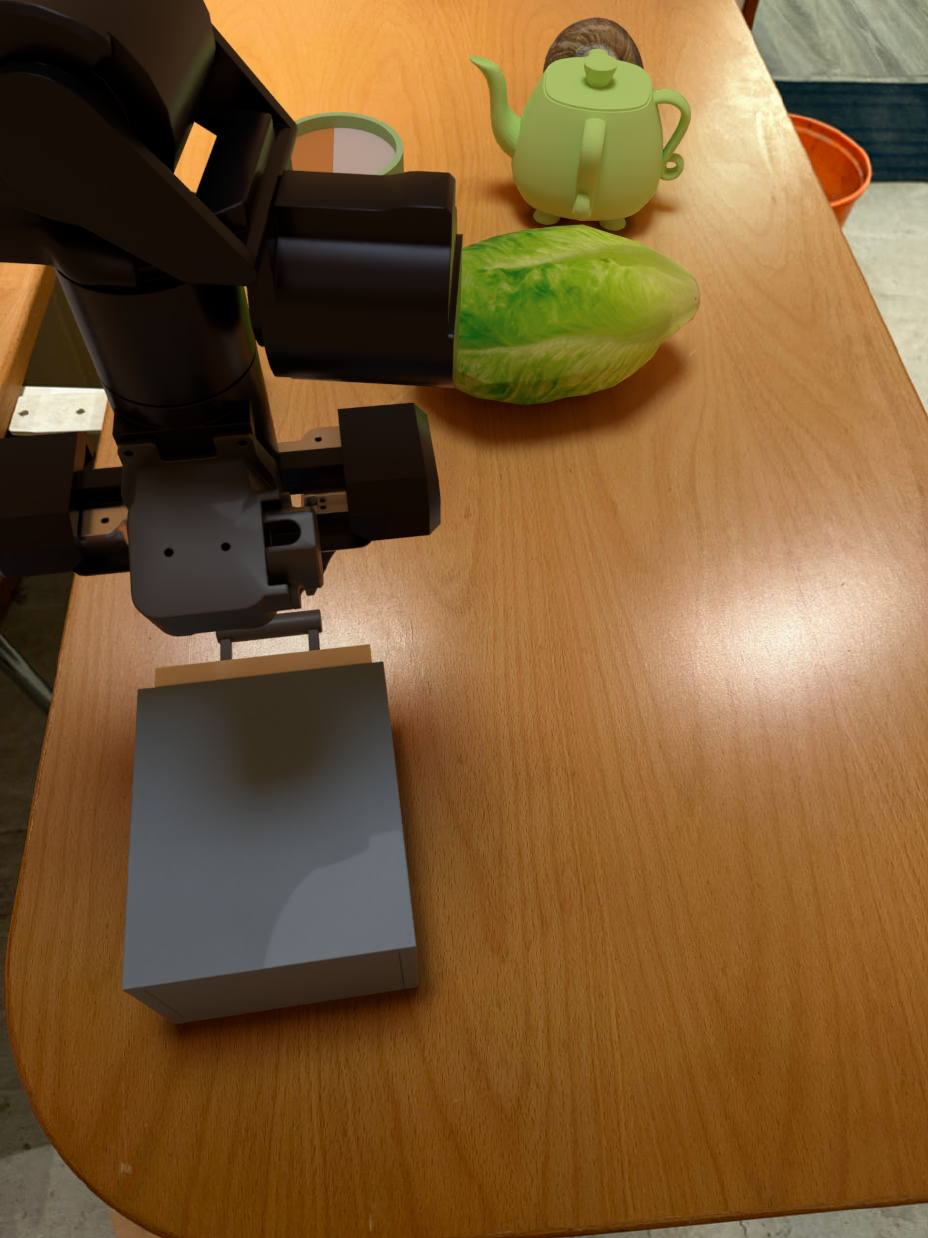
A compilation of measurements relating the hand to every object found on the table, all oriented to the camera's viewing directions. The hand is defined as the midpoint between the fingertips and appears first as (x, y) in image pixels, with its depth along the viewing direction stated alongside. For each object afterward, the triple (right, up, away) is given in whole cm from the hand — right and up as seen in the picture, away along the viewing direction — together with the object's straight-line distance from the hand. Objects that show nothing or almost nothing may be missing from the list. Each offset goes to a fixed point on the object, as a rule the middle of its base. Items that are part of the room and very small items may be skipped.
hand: (251, 594), depth 46 cm
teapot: (+21, +39, +40) cm, 60 cm away
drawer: (0, -11, +6) cm, 13 cm away
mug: (0, +28, +33) cm, 43 cm away
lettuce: (+17, +18, +27) cm, 37 cm away
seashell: (+24, +53, +49) cm, 76 cm away
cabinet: (+1, -15, +5) cm, 16 cm away
